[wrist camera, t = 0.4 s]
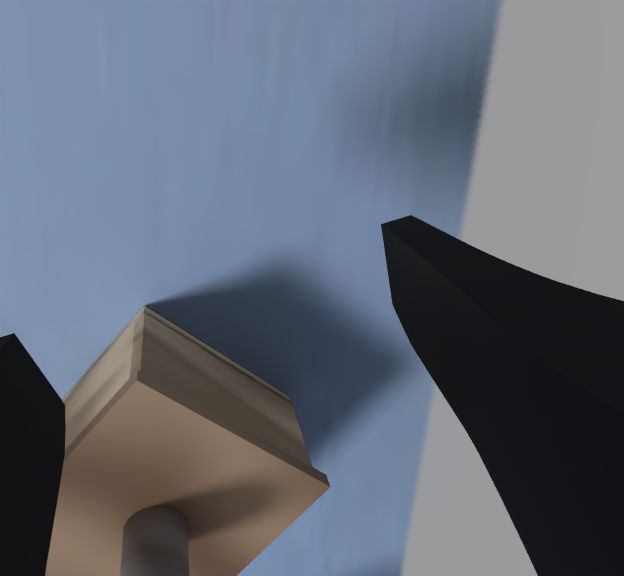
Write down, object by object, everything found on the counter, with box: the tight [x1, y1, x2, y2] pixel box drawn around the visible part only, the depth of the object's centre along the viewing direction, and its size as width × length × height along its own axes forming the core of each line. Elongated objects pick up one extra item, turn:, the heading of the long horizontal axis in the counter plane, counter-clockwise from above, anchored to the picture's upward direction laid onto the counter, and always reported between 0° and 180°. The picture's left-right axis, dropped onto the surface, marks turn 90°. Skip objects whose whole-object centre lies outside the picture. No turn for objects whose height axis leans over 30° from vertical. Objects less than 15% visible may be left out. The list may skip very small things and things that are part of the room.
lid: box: [45, 369, 330, 576], centre depth 19 cm, size 10×9×5 cm
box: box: [62, 306, 312, 467], centre depth 23 cm, size 9×8×5 cm
